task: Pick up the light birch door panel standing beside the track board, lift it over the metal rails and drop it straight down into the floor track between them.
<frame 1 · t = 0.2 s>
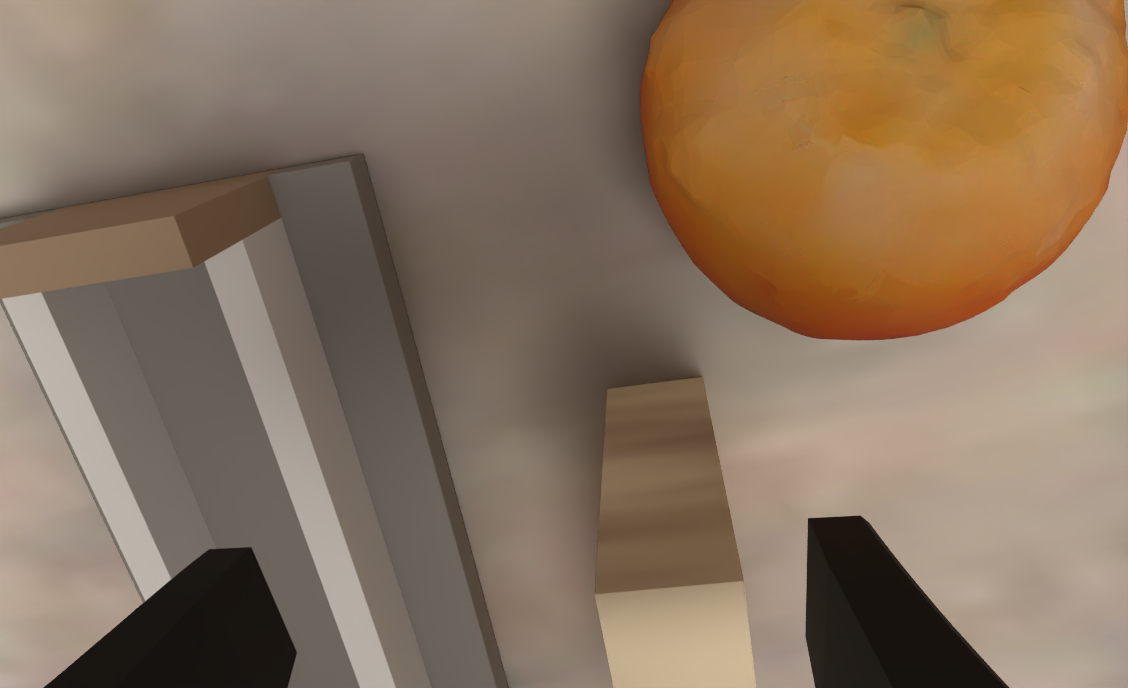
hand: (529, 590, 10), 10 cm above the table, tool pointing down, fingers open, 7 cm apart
track board: (315, 576, 24), on the table
door panel: (677, 538, 22), on the table
fruit: (815, 103, 18), on the table
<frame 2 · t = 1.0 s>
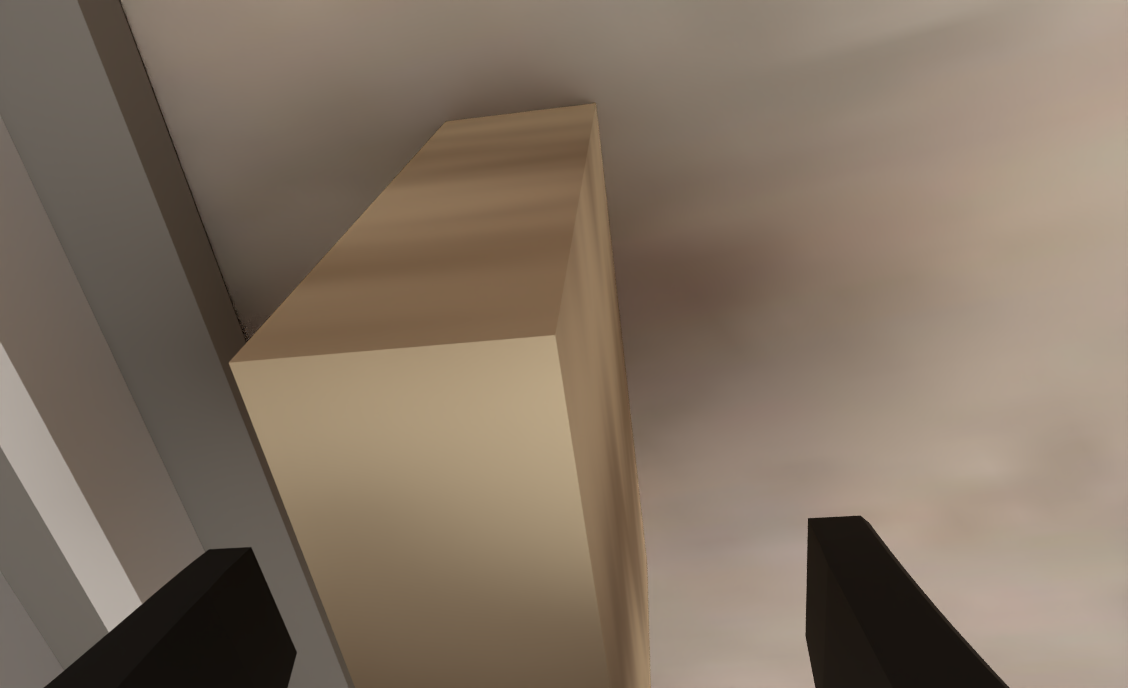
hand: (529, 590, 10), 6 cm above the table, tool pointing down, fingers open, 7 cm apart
track board: (44, 415, 16), on the table
door panel: (561, 372, 15), on the table
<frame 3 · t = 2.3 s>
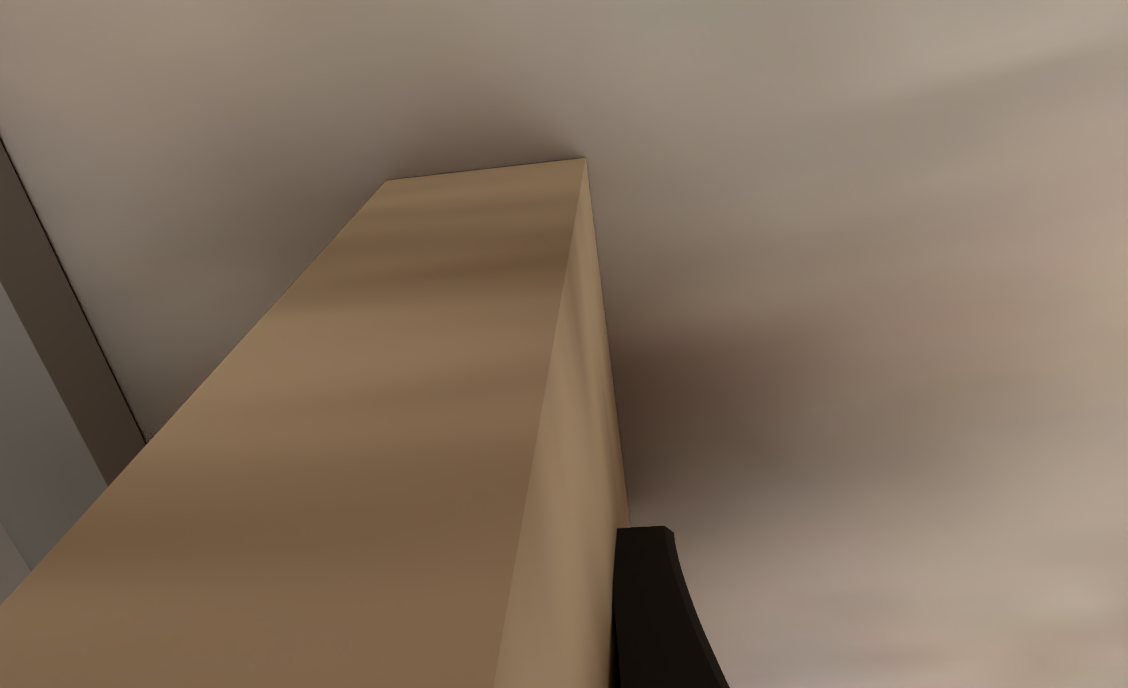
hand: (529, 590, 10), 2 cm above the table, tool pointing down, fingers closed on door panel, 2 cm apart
door panel: (543, 489, 12), on the table, touching gripper
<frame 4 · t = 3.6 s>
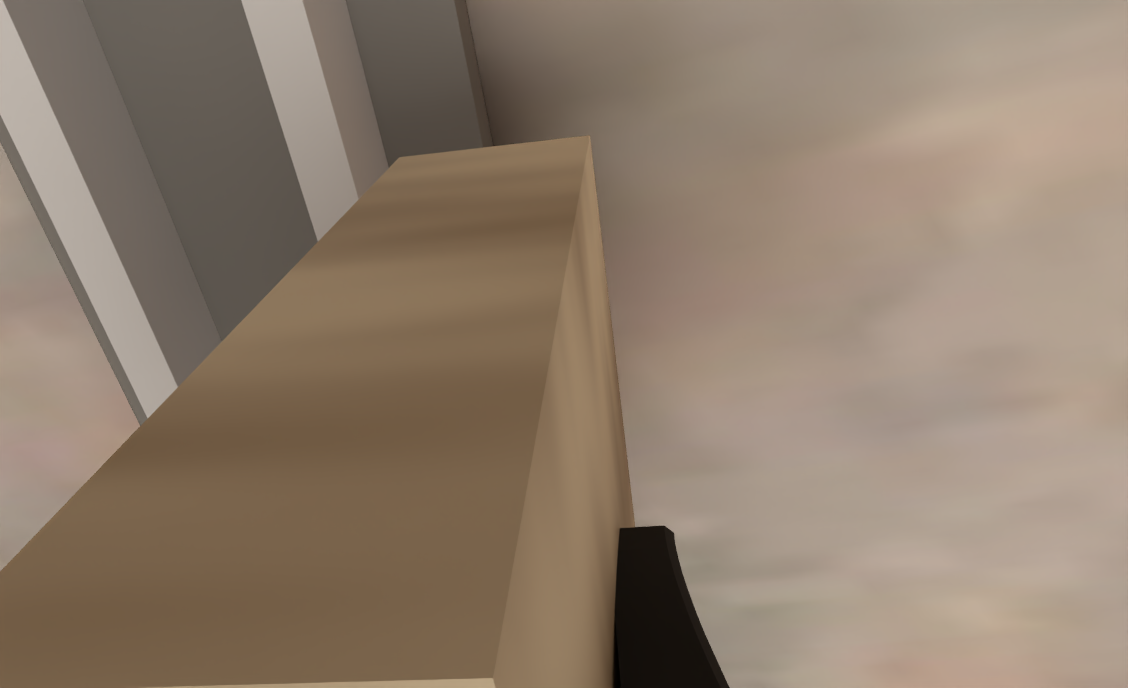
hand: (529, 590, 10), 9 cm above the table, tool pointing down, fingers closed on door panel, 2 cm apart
track board: (319, 319, 19), on the table
door panel: (547, 459, 12), point 6 cm above the table, touching gripper
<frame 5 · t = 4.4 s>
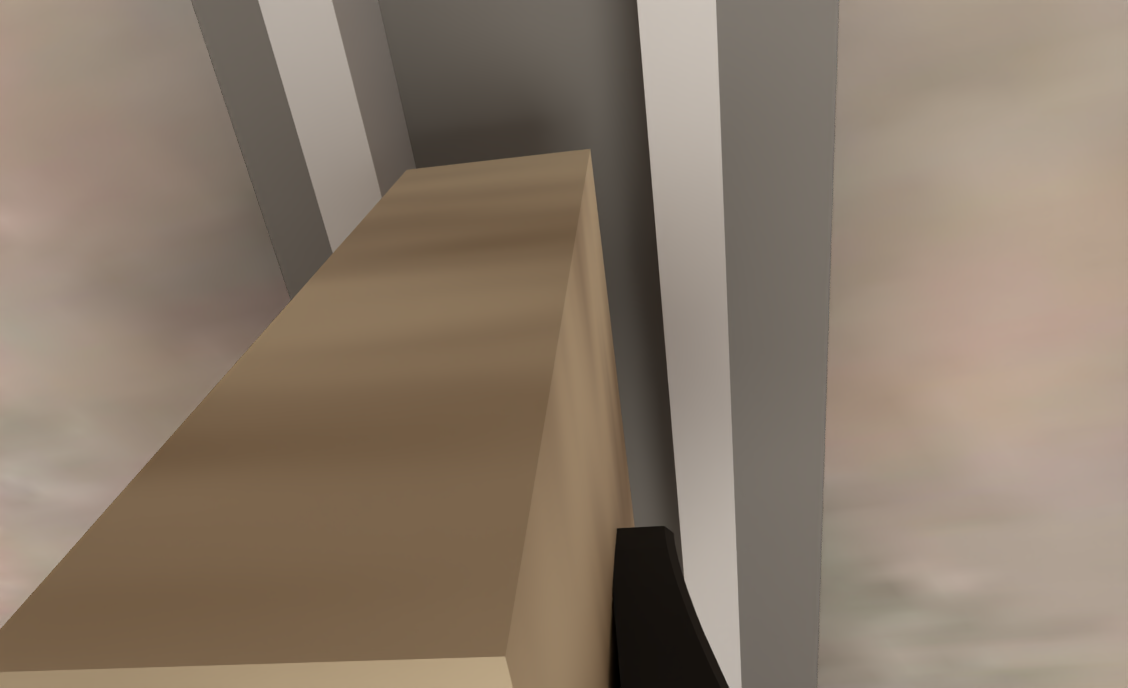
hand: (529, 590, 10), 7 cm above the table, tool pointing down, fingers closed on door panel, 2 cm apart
track board: (566, 342, 16), on the table
door panel: (549, 460, 13), point 4 cm above the table, touching gripper
when the fingers open (6 cm above the table, at t = 5.2 s): door panel drops 2 cm, resting on track board.
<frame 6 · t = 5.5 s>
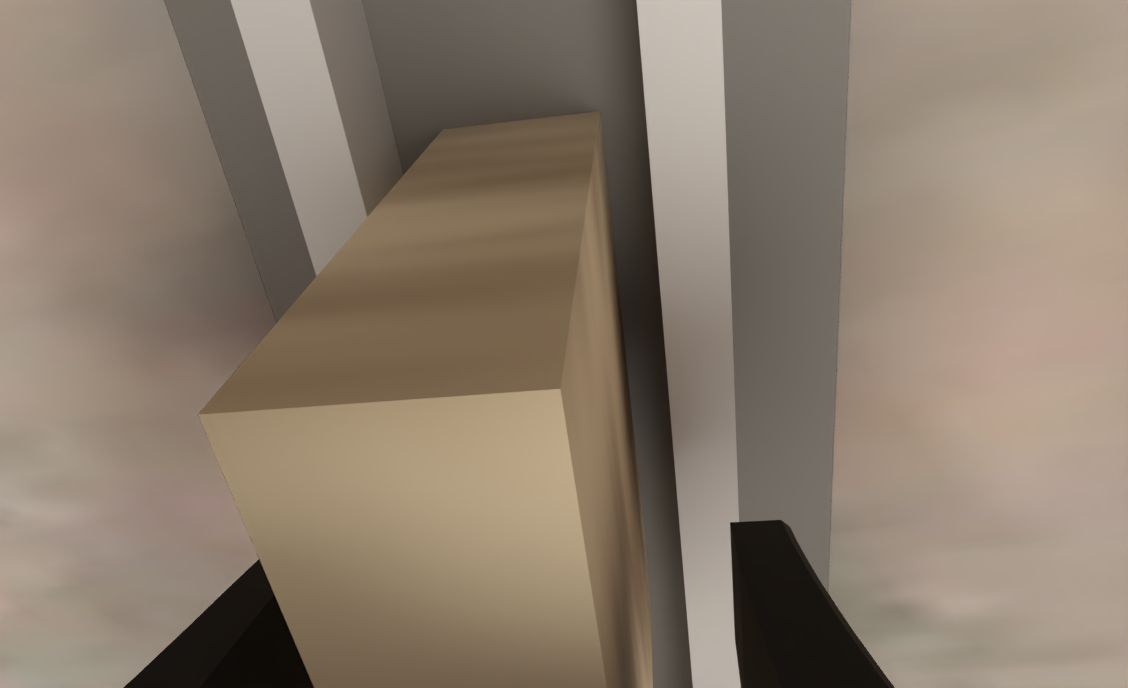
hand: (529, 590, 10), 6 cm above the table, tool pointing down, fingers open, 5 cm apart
track board: (563, 358, 15), on the table
door panel: (562, 390, 14), point 1 cm above the table, touching track board
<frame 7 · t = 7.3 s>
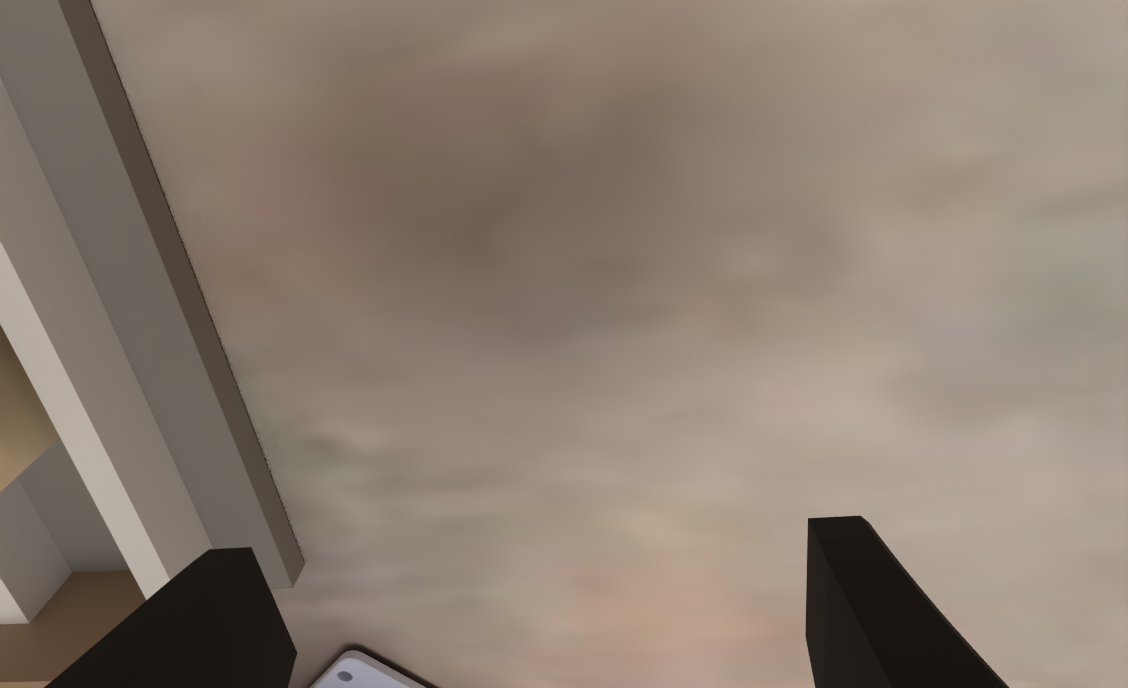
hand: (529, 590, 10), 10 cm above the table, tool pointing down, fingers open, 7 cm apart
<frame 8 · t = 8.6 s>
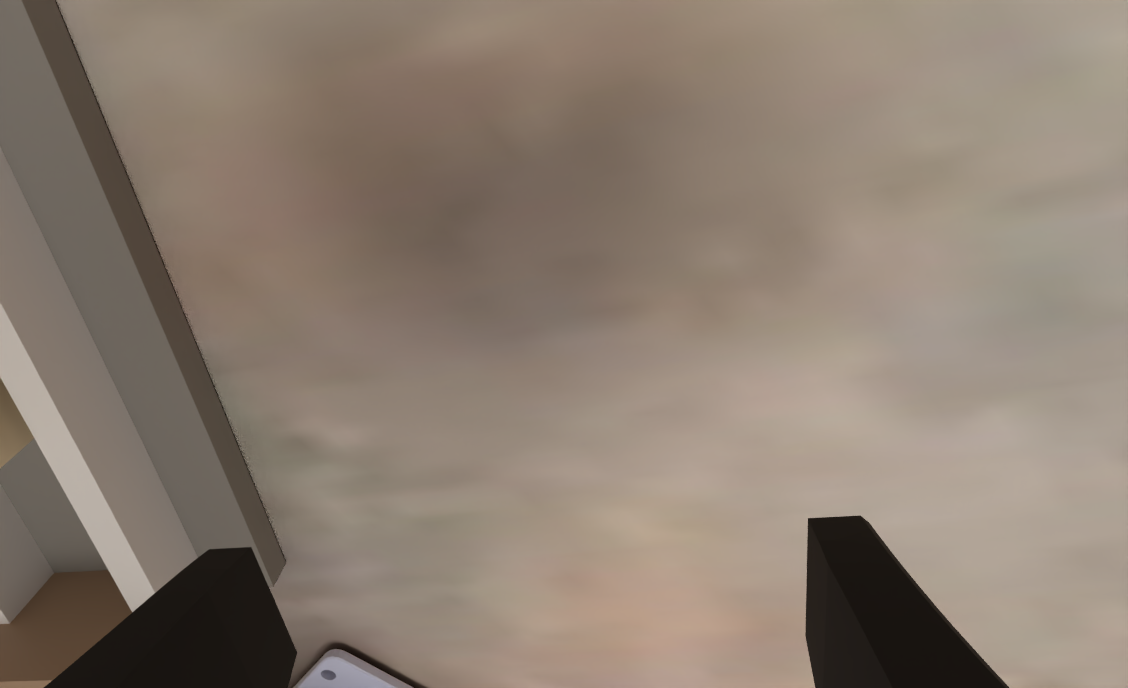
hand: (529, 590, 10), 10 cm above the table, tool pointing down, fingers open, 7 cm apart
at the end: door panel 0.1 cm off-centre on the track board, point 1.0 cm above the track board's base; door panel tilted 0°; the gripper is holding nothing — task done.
